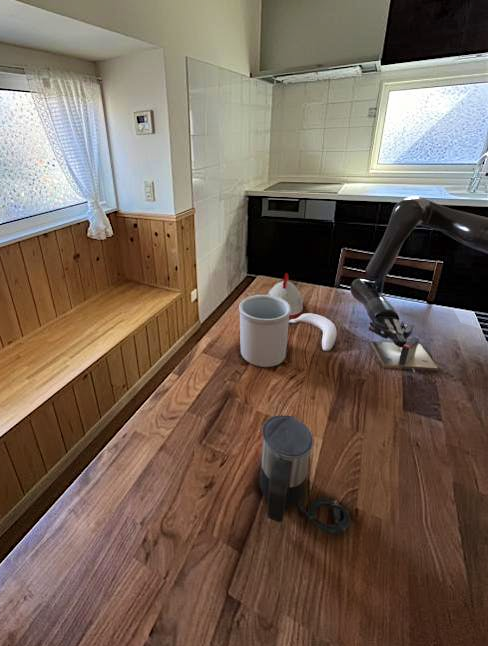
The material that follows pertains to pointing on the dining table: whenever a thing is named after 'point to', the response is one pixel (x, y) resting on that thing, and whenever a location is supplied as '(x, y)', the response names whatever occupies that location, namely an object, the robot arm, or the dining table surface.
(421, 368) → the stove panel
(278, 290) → the kitchen timer
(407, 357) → the dark grey rectangular block
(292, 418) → the milk frother
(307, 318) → the banana
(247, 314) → the utensil holder
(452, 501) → the dining table surface
